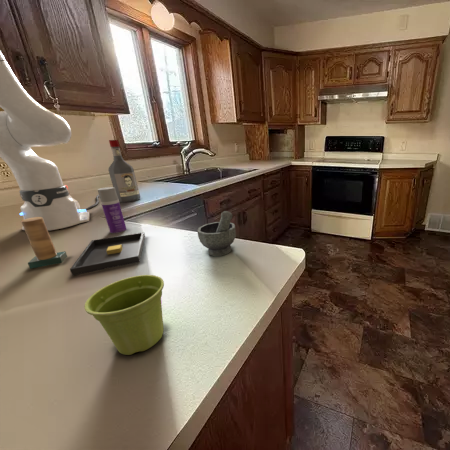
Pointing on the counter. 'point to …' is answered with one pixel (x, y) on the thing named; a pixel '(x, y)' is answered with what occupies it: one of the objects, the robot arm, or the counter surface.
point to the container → (112, 209)
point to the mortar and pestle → (218, 235)
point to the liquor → (122, 176)
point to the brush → (41, 243)
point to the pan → (99, 259)
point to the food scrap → (114, 249)
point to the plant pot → (130, 312)
